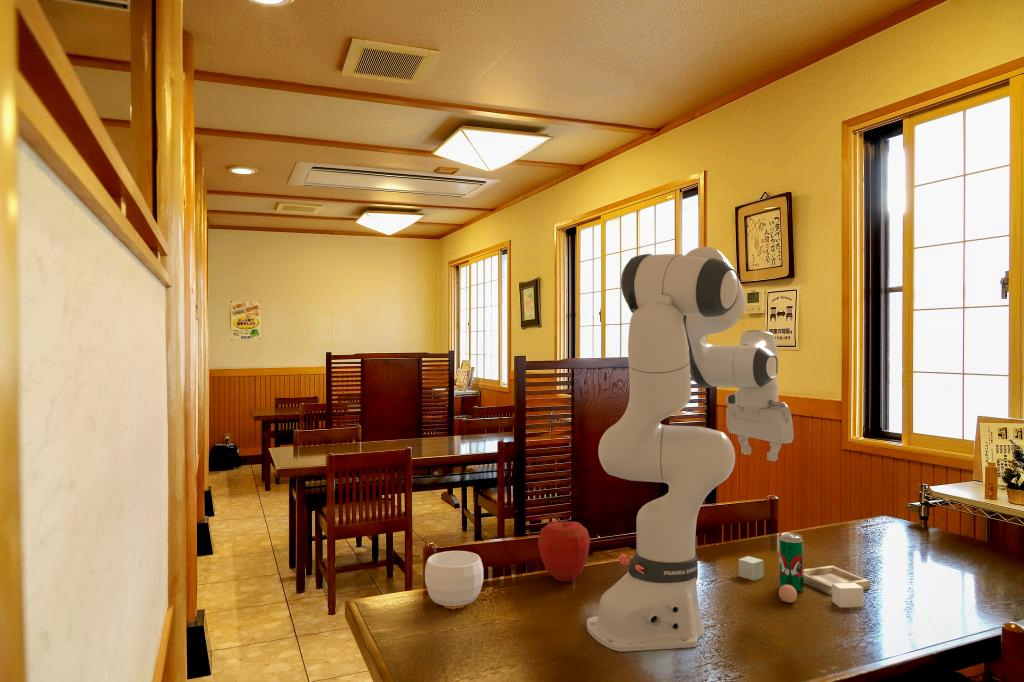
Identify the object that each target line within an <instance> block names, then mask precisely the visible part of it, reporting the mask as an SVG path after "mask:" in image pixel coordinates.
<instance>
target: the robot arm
mask: <svg viewBox="0 0 1024 682" xmlns="http://www.w3.org/2000/svg"><path fill="white" fill-rule="evenodd" d="M622 270H623V271H622V273H621V278H620V285H621V287H620V289H621V292H622V296H623V298H624V300H625V302H626V304H627V306H628V308H629V311H630V313H632V314H631V316H630V321H629V325H628V327H629V329H628V338H627V340H628V341H627V342H628V343H627V358H628V371H629V373H628V374H629V397H628V398H629V399H628V404H627V407H626V409H625V411H624V413H623V415H622V416H621V418H620V419H619V420H618V421H617V422H616V423H615V424H612V425H611V426H610V427H608V428H607V429H606V430H605V432H603V435H602V436H601V438H600V440H599V442H598V443H599V444H598V452H597V453H598V454H597V455H598V458H599V462H600V464H601V467H602V468H603V470H604V472H606V473H607V475H610V476H613V477H617V478H619V479H623V480H628V481H635V482H652V483H664V484H667V485H668V492H667V493H665V495H663V496H661V497H658V498H655V499H652V500H651V501H648V502H647V503H645V504H644V505H642V507H641V508H640V509H639V510H638V512H637V515H636V551H634V554H633V556H632V557H631V556H629V555H627V554H626V553H621V554H620V555H619V556H618V562H619V563H620V565H623V566H624V567H628V569H627V570H628V571H627V573H625V574H624V575H623V576H622V577H621V578H620V579H618V580H617V582H615V583H614V584H613V585H611V587H609V588H608V589H607V590H606V591H604V593H603V594H602V595H601V597H600V600H599V605H598V609H597V610H598V611H597V615H595V616H591V617H588V618H587V620H586V630H587V632H588V633H589V635H590V636H592V638H593V639H594V640H595V641H597V642H598V643H599V644H601V645H602V646H604V647H605V648H608V649H610V650H612V651H616V652H637V651H639V652H640V651H650V650H651V651H652V650H653V651H654V650H656V651H657V650H668V649H683V648H685V649H686V648H687V649H688V648H694V647H697V646H698V643H699V639H700V638H701V637H703V635H704V634H705V630H706V629H705V626H704V623H703V619H702V614H701V610H700V605H699V596H698V589H697V588H698V587H697V580H698V575H699V572H698V571H699V568H698V566H699V565H698V555H697V554H696V532H697V531H696V530H697V520H698V515H699V511H700V509H701V506H702V504H703V502H704V501H705V499H706V498H707V496H708V495H710V493H711V492H712V491H713V490H714V489H715V488H716V487H717V486H719V485H720V484H722V483H724V481H726V480H727V479H728V478H729V477H730V475H731V474H732V472H733V470H734V467H735V463H736V452H735V451H736V450H735V448H734V445H733V443H732V441H731V439H730V437H728V435H727V434H726V433H725V432H724V431H720V430H716V429H712V428H709V427H703V426H695V425H694V426H693V425H667V424H662V423H661V422H662V421H663V420H665V419H667V418H670V417H671V416H674V415H676V414H677V413H679V412H681V410H683V409H684V408H685V407H686V406H687V405H688V404H689V403H690V401H691V397H692V383H691V381H692V380H693V382H694V383H695V384H697V386H699V387H700V388H703V389H705V388H706V389H710V388H738V390H737V391H735V392H732V393H730V394H727V395H726V396H725V403H726V404H727V406H726V428H727V431H728V432H729V434H735V435H737V440H738V442H739V444H740V446H741V447H740V448H741V451H740V452H741V454H742V455H743V454H744V455H752V447H751V446H750V445H749V444H750V443H749V441H748V440H749V439H750V438H752V439H753V438H754V439H757V440H762V441H766V442H769V447H770V450H769V451H768V452H766V456H767V457H766V460H767V461H771V462H776V461H778V459H779V458H778V453H779V452H780V449H781V447H782V444H791V443H792V442H793V440H794V439H795V438H794V437H795V436H794V433H795V432H794V426H793V425H794V424H793V423H794V422H793V418H792V417H793V416H792V414H791V411H790V410H791V409H790V408H789V406H788V405H787V403H785V402H784V401H779V383H778V378H777V375H778V373H779V372H778V370H779V356H778V348H777V347H778V346H777V339H776V337H775V335H774V334H773V332H771V331H767V330H756V329H755V330H754V329H753V330H747V331H743V332H742V333H741V335H740V339H739V345H716V344H710V343H708V341H707V336H710V335H713V334H719V333H723V332H726V331H728V330H729V329H731V328H733V327H734V326H735V325H736V324H737V323H738V322H739V321H740V319H741V318H742V317H743V315H744V313H745V310H746V305H747V303H746V296H745V292H744V289H743V286H742V284H741V282H740V281H741V280H740V278H739V275H738V273H737V271H736V269H735V268H734V267H733V266H732V264H731V263H730V262H729V260H728V258H726V256H724V254H723V253H722V252H721V250H718V249H716V248H715V247H711V246H699V247H696V248H693V249H692V250H689V252H687V253H686V254H685V255H683V254H681V253H679V254H678V253H677V254H676V253H664V254H663V253H662V254H661V253H660V254H653V253H645V254H640V255H639V254H638V255H636V256H633V257H631V258H630V259H629V260H628V262H627V263H626V265H625V266H624V268H623V269H622ZM691 379H692V380H691Z"/></svg>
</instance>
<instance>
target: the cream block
mask: <svg viewBox="0 0 1024 682" xmlns="http://www.w3.org/2000/svg"><path fill="white" fill-rule="evenodd" d="M831 597H832V601H831V602H832V603H833V604H835V605H836V606H837V607H838V608H864V590H863V587H861V586H860V585H858V584H856V583H832V595H831Z"/></svg>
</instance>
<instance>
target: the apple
mask: <svg viewBox="0 0 1024 682" xmlns="http://www.w3.org/2000/svg"><path fill="white" fill-rule="evenodd" d="M590 543H591V538H590V535H589V531H588V529H587V528H586V527H585V526H583V524H581V523H580V522H578V521H566V518H564V519H563V521H554V522H550V523H548V524H546V525H545V526H544V527H543V528H541V530H540V533H539V537H538V540H537V546H538V549H539V550H538V551H539V555H540V559H541V561H542V563H543V566H544V568H545V570H546V572H547V573H548V574H549V575H551V576H552V577H553V578H554V579H555V580H557V581H559V582H572V581H574V580H575V579H576V578H577V577H578V576H579V575H580V574H582V573H583V570H584V568H585V565H586V564H587V563H586V562H587V559H588V557H589V553H590V545H591V544H590Z"/></svg>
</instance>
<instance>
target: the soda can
mask: <svg viewBox="0 0 1024 682" xmlns="http://www.w3.org/2000/svg"><path fill="white" fill-rule="evenodd" d="M804 555H805V553H804V540H803V537H802V535H801V534H798V533H795V532H782V533H781V534H780V537H779V538H778V581H779V582H778V583H779V584H778V585H779V588H780V587H781V586H783V585H791V586H793V587H794V588H795V590H796V592H797V593H800V592H802V591H803V590H804V588H805V585H804V584H805V583H804V569H805V568H804V565H805V563H804V561H805V560H804Z"/></svg>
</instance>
